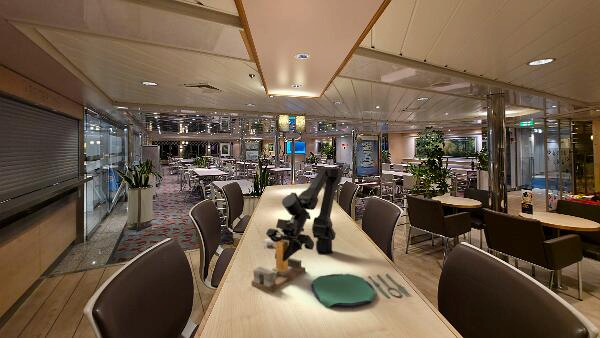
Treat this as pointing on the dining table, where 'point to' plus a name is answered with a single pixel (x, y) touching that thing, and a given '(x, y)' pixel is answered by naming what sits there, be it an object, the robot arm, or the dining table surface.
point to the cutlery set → (348, 289)
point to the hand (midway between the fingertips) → (279, 259)
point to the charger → (271, 242)
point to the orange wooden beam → (281, 259)
